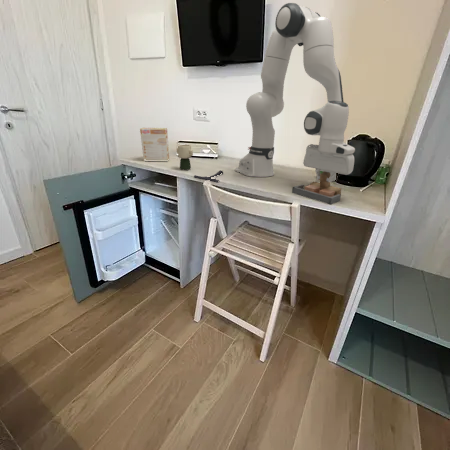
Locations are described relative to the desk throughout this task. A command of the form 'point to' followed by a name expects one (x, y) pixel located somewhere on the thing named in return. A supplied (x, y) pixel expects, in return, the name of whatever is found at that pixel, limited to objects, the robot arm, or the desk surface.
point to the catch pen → (315, 195)
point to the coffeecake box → (155, 143)
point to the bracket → (209, 177)
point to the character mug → (184, 156)
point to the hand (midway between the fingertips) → (323, 180)
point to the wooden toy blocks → (326, 183)
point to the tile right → (327, 192)
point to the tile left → (312, 188)
